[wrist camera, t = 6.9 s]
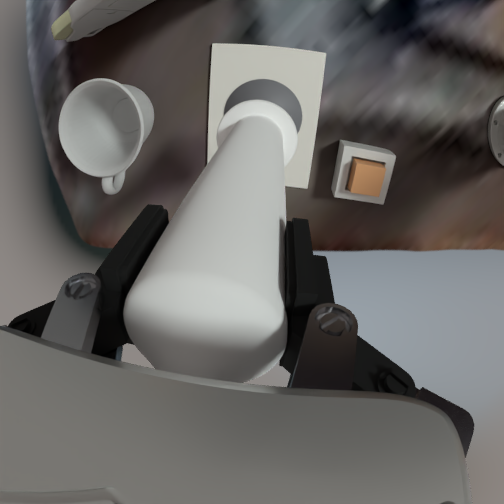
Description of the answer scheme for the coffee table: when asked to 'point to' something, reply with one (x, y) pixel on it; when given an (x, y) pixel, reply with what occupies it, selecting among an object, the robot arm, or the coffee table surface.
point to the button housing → (345, 163)
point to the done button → (366, 177)
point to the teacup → (105, 129)
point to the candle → (222, 259)
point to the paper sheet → (269, 93)
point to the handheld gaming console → (93, 17)
